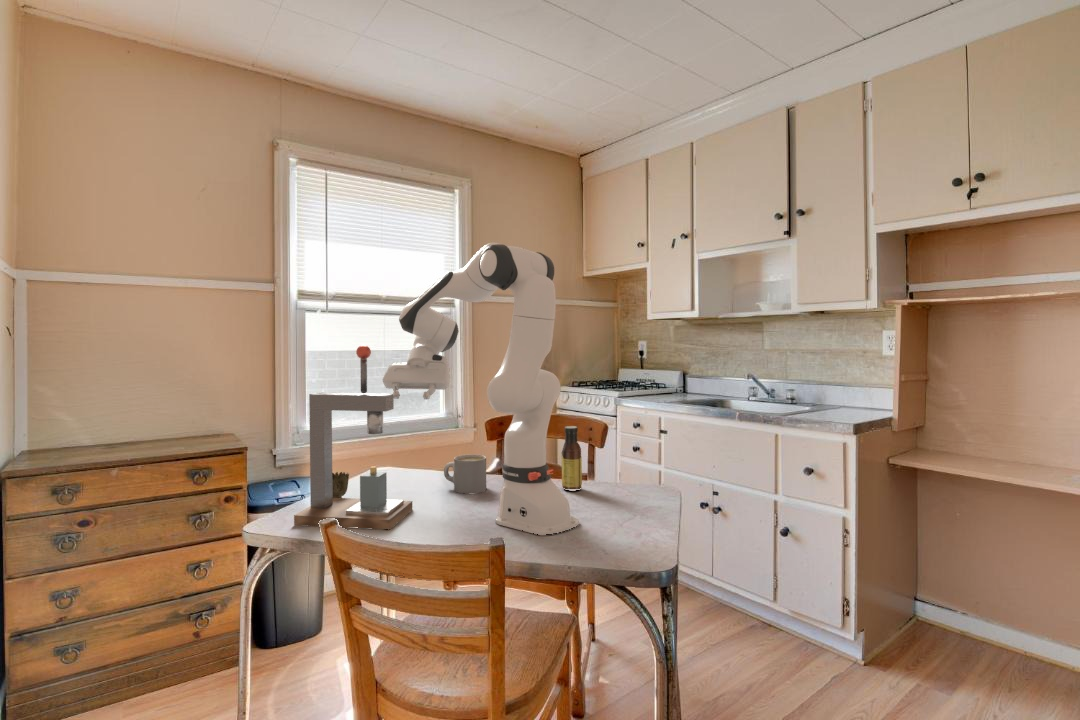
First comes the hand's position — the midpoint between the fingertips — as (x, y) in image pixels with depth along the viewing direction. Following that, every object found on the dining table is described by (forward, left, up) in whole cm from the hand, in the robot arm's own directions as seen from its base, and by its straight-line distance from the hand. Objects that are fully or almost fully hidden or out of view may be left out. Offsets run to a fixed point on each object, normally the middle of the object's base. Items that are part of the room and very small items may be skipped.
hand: (410, 397), depth 166 cm
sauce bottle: (-28, -40, -30) cm, 57 cm away
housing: (-11, +18, -26) cm, 33 cm away
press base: (-8, +21, -29) cm, 37 cm away
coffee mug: (-5, -16, -30) cm, 34 cm away
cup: (+8, +20, -30) cm, 36 cm away
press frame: (-8, +21, -27) cm, 35 cm away
